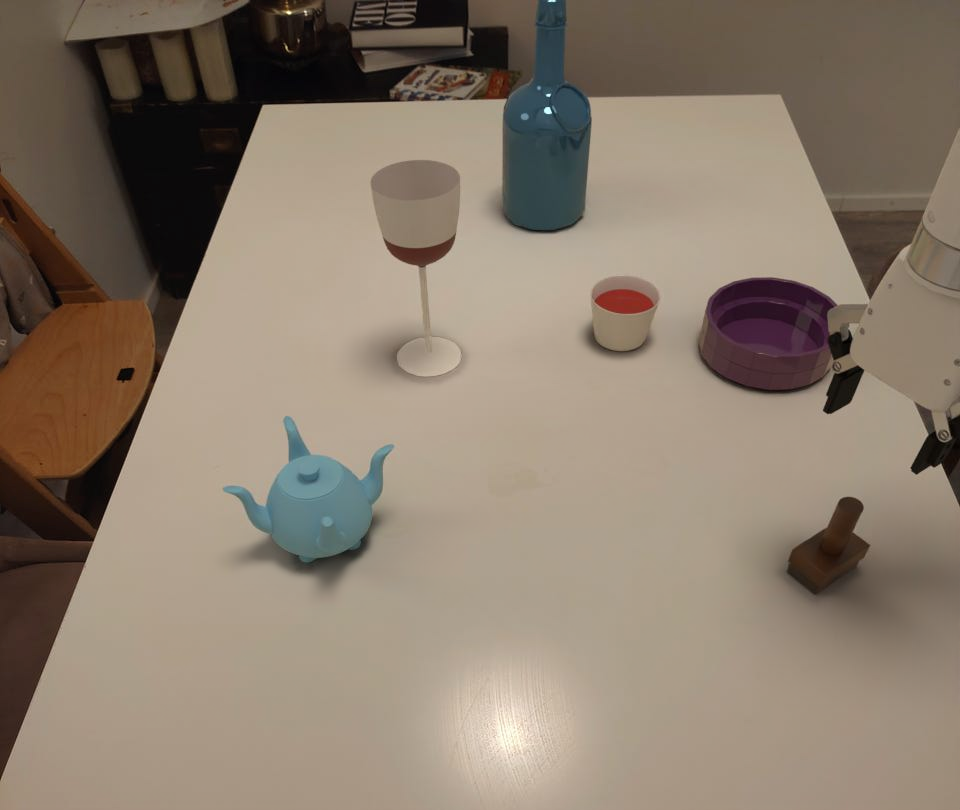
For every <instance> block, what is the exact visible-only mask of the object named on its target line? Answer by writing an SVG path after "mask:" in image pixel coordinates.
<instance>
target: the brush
mask: <svg viewBox="0 0 960 810" xmlns="http://www.w3.org/2000/svg"><path fill="white" fill-rule="evenodd" d="M864 508H865V507H864V503H863V502H862V501H861V500H860V499H859V498H856V497H854V496H844V497H842V498H840V499H839V500H838V502H837V504H836V506H835V508H834V511H833V513H832V516H831V518H830V519H829V522H828V524H827V526H826V527H825V528H823V529H822V530H820V531H819V532H817V533H816V534H814V535H812V536H811V537H809V538H808V539H806V540H804V541H803V542H801V543H800V544H798V545H797V546H794V547H793V548H792V550H791V552H790V555H789V556H788V557H789V558H788V559H787V562H788V563H789V564H788V567H787V569H786V572H787V573H788V574H789V575H791V576H792V577H793V578H794V579H795V580H797V581H798V582H799V583H800V584H802V585H803V586H804V587H805V588H807V589H808V590H809V591H810V592H812V593H813V594H814V595H816V594H819V593H820V592H821V591H823V590H825V589H826V588H827V587H829V586H830V585H832V584H833V583H834V582H836V581H837V580H839V579H841V578H842V577H844V576H845V575H847V574H849V573H850V572H851V571H852V570H854V569H856V568H857V566H858V565H859V563H860V562H861V561H862V560H863V559H864V558H865V557H866V555H867V553H868V551H869V549H870V547H871V544H870V543H868V542H867V541H866V540H864V539H863V538H862V537H860V536H858V535H857V534H856V533H855V532H854V530H855V528H856V526H857V523H858V522H859V520H860V518H861V516H862V514H863V512H864V510H865V509H864Z"/></svg>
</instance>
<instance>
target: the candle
mask: <svg viewBox="0 0 960 810" xmlns="http://www.w3.org/2000/svg"><path fill="white" fill-rule="evenodd" d="M589 293H590V304H591V306H590V307H591V315H592V326H593V335H594V338H595V340H596V342H597V344H599V345H600V346H602V347H603V348H605V349H607V350H611V351H615V352H628V351H632V350H633V351H634V350H635V349H638V348H639V347H640V346H642V345H643V344H644V342H645V341H646V339H647V337H648V334H649V332H650V329H651V326H652V323H653V321H654V318H655V315H656V312H657V309H658V307H659V304H660V302H661V292H660V290H659V288H658V287H657V286H656V284H654V283H653V282H652V281H650V280H648V279H646V278H643V277H641V276H637V275H631V274H616V275H615V274H614V275H610V276H607V277H604V278H601V279H599V280H598V281H597V282H595V283H594V284H593V285H592V286H591V289H590V292H589Z"/></svg>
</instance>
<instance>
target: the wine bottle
mask: <svg viewBox="0 0 960 810" xmlns="http://www.w3.org/2000/svg"><path fill="white" fill-rule="evenodd" d="M536 4H537V5H536V12H535V20H534V27H536V29H535V43H534V44H535V45H534V59H533V60H534V62H533V76H532V77H531V79H530V81H527V82H525V83H524V84H522V85H521V86H519V87H518V88H517V89H515V90H514V91H512V93H510V94H509V96H508V97H507V99H506V101H505V103H504V106H503V110H502V112H503V113H502V154H501V155H502V157H501V158H502V159H501V160H502V164H501V165H502V176H501V177H502V178H501V179H502V184H501V185H502V187H501V188H502V189H501V190H502V193H501V194H502V195H501V196H502V199H501V201H502V207H501V210H502V212H503V215H504V216H505V217H506V218H507V219H508V220H509V221H510V222H511V223H513V224H514V226H518V227H522V228H524V229H528V230H530V231H555V230H559V229H562V228H566V227H569V226H572V225H573V224H575V222H577V221H578V219H580V218H581V217H582V216H583V214H584V212H585V210H586V198H587V197H586V196H587V184H588V175H589V162H590V161H589V160H590V148H591V137H592V136H591V135H592V121H593V120H592V119H593V116H592V107H591V102H590V100H589V98H588V96H587V95H586V93H585V92H584V91H582V90H581V89H580V88H579V87H578V86H576V85H574V84H573V83H571V82H570V81H567V79H566V76H565V47H566V45H565V43H566V27H568V20H567V0H537V3H536Z"/></svg>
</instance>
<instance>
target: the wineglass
mask: <svg viewBox="0 0 960 810" xmlns="http://www.w3.org/2000/svg"><path fill="white" fill-rule="evenodd" d="M370 189H371V190H370V191H371V197H372V202H373V206H374V207H373V208H374V211H375V216H376V220H377V224H378V226H379V229H380V233H381V237H382V240H383V242H384V245H385V247H386V249H387V250H388V252H389V253H390V255H391V256H393V257H394V258H396V259H397V260H398V261H400V262H402V263H405V264H407V265H411V266H416V267H418V275H419V276H418V277H419V287H420V288H419V289H420V301H421V313H422V325H423V337H419V338H414V339H412V340H410V341H409V342H406V343H405V344H404V345H403V346H401V347H400V348H399V350H398V352H397V354H396V361H397V364H398V366H399V367H400V368H401V369H402V370H403V371H404V372H406V373H409V374H411V375H413V376H418V377H425V378H426V377H427V378H428V377H438V376H441V375H445V374H447V373H449V372H451V371H453V370H454V369H456V367H458V365H459V364H460V362H461V360H462V351H461V348H460V347H459V346H458V345H457V344H456V343H455V342H454V341H452V340H449V339H447V338H444V337H439V336H432V332H431V329H432V328H431V317H430V305H429V291H428V278H427V277H428V275H427V266H428V265H431V264H434V263H436V262H438V261H439V260H442V258H444V257H445V256H446V255H447V254H449V252H450V251H451V250H452V248H453V246H454V244H455V241H456V236H457V230H458V223H459V216H460V205H461V204H460V203H461V201H460V200H461V175H460V173H459V171H458V170H457V169H456V168H454V167H453V166H452V165H450V164H447V163H445V162H441V161H437V160H430V159H411V160H410V159H409V160H404V161H399V162H395V163H392V164H389V165H387V166H384V167H382V168H380V169H379V170H377V171H376V172H375V173H374V174H373V175H372V177H371V179H370Z"/></svg>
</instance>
